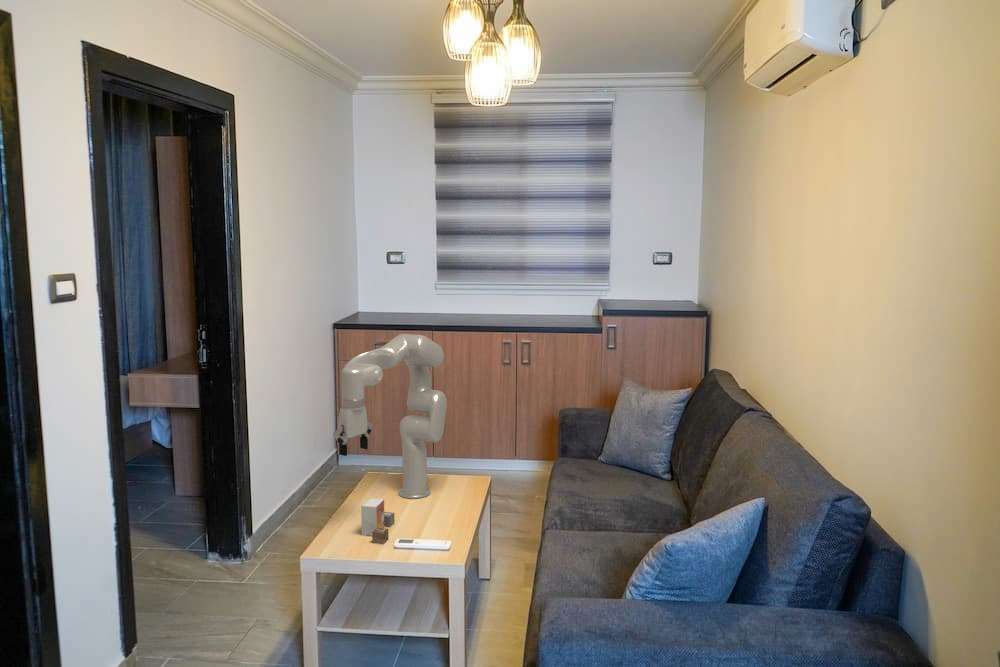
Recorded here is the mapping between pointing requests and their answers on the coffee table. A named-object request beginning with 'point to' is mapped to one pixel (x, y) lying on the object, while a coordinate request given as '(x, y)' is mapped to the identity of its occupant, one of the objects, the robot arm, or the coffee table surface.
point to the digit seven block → (380, 536)
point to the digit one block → (388, 519)
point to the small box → (372, 515)
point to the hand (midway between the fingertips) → (353, 451)
